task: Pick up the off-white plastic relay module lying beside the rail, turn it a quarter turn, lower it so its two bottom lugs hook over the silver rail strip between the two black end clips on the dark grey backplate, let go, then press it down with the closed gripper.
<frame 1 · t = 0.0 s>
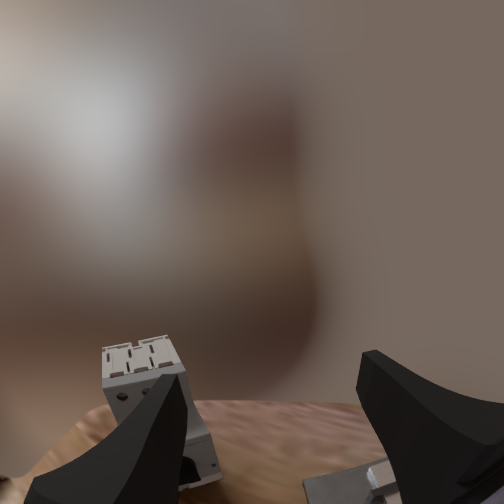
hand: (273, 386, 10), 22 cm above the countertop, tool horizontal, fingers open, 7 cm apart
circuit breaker: (180, 472, 24), on the countertop
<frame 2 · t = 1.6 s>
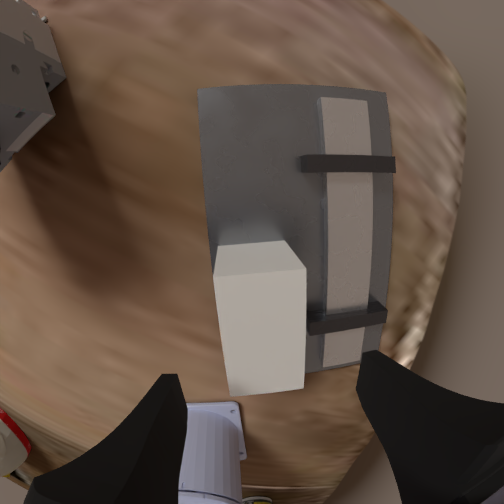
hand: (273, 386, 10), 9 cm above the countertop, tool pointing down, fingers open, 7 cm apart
rail board: (304, 242, 18), on the countertop
supplement bottle: (255, 500, 29), on the countertop
module: (255, 296, 18), point 1 cm above the countertop, touching rail board
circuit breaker: (29, 101, 14), on the countertop
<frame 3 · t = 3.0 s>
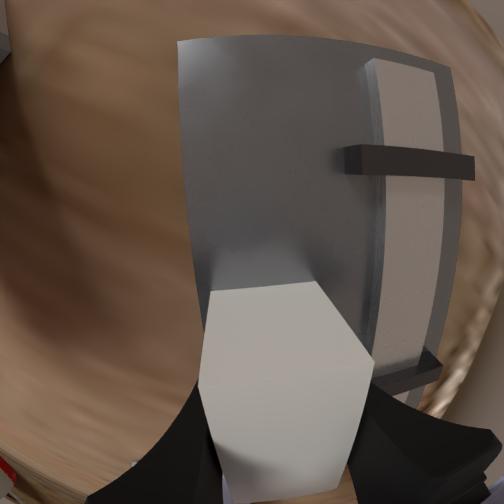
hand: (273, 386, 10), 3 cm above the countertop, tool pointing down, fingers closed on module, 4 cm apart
rail board: (342, 279, 12), on the countertop
module: (268, 360, 12), point 1 cm above the countertop, touching gripper, rail board
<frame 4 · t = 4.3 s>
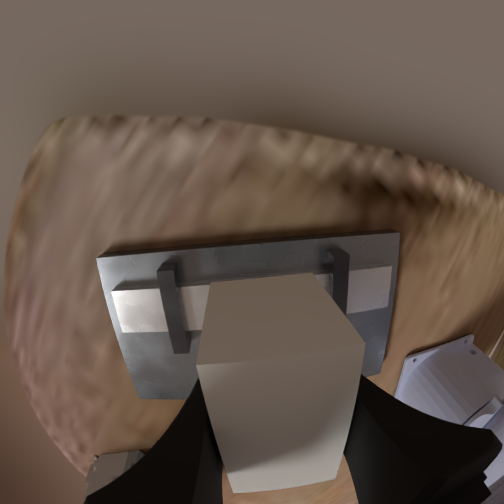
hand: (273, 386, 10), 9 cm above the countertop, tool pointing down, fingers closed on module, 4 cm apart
rail board: (256, 324, 19), on the countertop
module: (267, 351, 12), point 7 cm above the countertop, touching gripper
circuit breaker: (154, 465, 24), on the countertop
when the fingers open (4 cm above the countertop, at t = 5.6 s): module stays where it is, resting on rail board.
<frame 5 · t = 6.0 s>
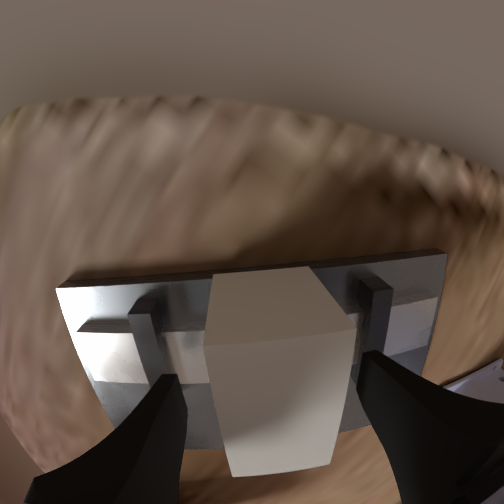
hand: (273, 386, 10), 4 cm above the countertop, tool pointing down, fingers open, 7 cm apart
rail board: (264, 370, 15), on the countertop
module: (265, 340, 13), point 1 cm above the countertop, touching rail board
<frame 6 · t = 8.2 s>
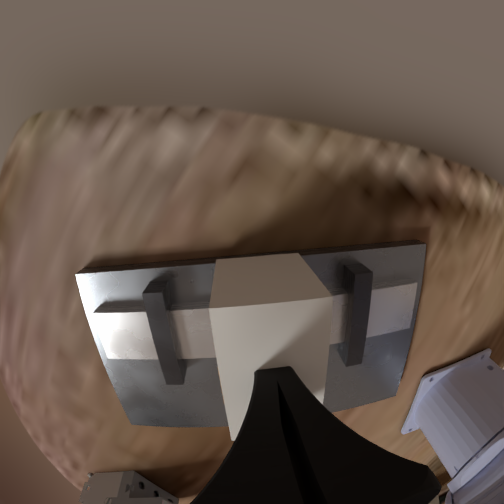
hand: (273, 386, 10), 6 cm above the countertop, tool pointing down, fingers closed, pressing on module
rail board: (261, 349, 17), on the countertop
kitchen timer: (400, 502, 30), on the countertop
module: (261, 319, 15), point 1 cm above the countertop, touching gripper, rail board
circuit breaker: (151, 485, 22), on the countertop
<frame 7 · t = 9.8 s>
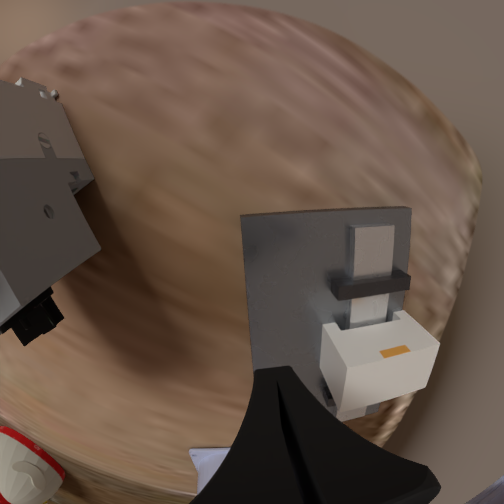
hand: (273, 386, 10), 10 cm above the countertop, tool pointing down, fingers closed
rail board: (327, 338, 21), on the countertop
kitchen timer: (30, 453, 26), on the countertop
module: (363, 339, 20), point 1 cm above the countertop, touching rail board
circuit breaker: (54, 195, 17), on the countertop
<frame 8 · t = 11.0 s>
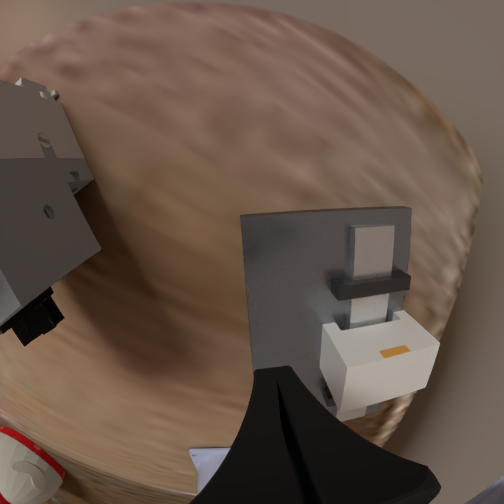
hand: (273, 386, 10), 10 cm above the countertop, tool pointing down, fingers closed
rail board: (327, 338, 21), on the countertop
kitchen timer: (30, 453, 26), on the countertop
module: (363, 339, 20), point 1 cm above the countertop, touching rail board
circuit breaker: (54, 195, 17), on the countertop
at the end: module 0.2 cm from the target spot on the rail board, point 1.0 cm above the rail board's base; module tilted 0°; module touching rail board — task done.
